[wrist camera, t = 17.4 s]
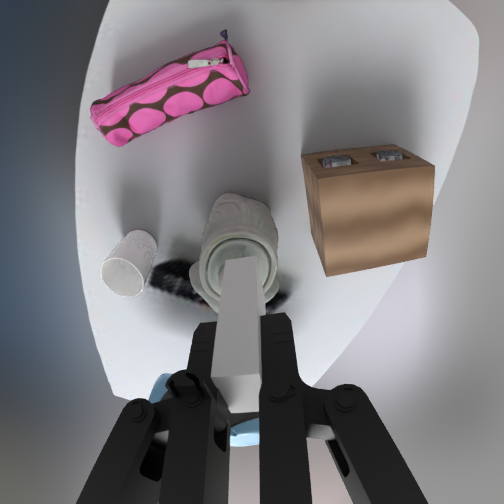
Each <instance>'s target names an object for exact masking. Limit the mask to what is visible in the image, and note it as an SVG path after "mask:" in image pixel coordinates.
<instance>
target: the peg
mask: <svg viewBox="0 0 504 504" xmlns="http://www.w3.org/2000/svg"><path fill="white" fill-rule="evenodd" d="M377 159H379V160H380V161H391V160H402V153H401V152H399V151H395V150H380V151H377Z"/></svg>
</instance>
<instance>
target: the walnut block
mask: <svg viewBox="0 0 504 504" xmlns="http://www.w3.org/2000/svg"><path fill="white" fill-rule="evenodd" d="M380 150H395V151H399V152H401V153H402V160H391V161H380V160H379V159H377V151H380ZM332 155H345V156H349V157H350V158H351V165H345V166H337V167H330V168H324V166H323V158H325V157H328V156H332ZM301 159H302V166H303V173H304V179H305V187H306V194H307V201H308V209H309V217H310V226H311V234H312V237H313V240H314V243H315V245H316V248H317V251H318V254H319V257H320V260H321V263H322V266H323V269H324V272H325V275H326V277H329V276H335V275H340V274H345V273H351V272H356V271H361V270H366V269H371V268H376V267H381V266H386V265H391V264H395V263H400V262H405V261H409V260H414V259H418V258H423V257H426V254H427V247H428V241H429V234H430V226H431V217H432V207H433V195H434V177H435V166H434V165H433V164H431V163H429V162H427V161H425V160H424V159H422V158H420V157H418V156H416V155H414V154H412V153H410V152H408V151H407V150H405V149H403V148H401V147H399V146H396V145H384V146H372V147H361V148H351V149H342V150H334V151H326V152H319V153H312V154H305V155H301Z"/></svg>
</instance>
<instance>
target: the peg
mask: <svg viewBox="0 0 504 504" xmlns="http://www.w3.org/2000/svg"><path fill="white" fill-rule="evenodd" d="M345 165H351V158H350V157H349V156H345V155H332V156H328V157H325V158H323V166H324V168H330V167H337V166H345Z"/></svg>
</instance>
